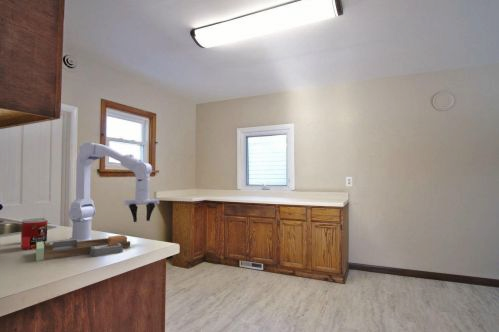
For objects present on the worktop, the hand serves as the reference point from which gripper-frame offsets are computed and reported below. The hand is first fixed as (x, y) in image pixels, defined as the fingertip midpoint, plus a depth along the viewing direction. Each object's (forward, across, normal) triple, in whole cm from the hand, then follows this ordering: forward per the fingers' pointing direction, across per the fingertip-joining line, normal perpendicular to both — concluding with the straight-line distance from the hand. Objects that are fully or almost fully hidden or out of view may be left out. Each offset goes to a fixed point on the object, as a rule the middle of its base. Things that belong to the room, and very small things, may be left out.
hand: (141, 221), depth 120 cm
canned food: (+10, -37, +17) cm, 42 cm away
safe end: (+9, -35, 0) cm, 36 cm away
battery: (+10, -36, +28) cm, 47 cm away
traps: (+9, -21, 0) cm, 23 cm away
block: (+10, -10, 0) cm, 14 cm away
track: (+9, -20, 0) cm, 22 cm away
